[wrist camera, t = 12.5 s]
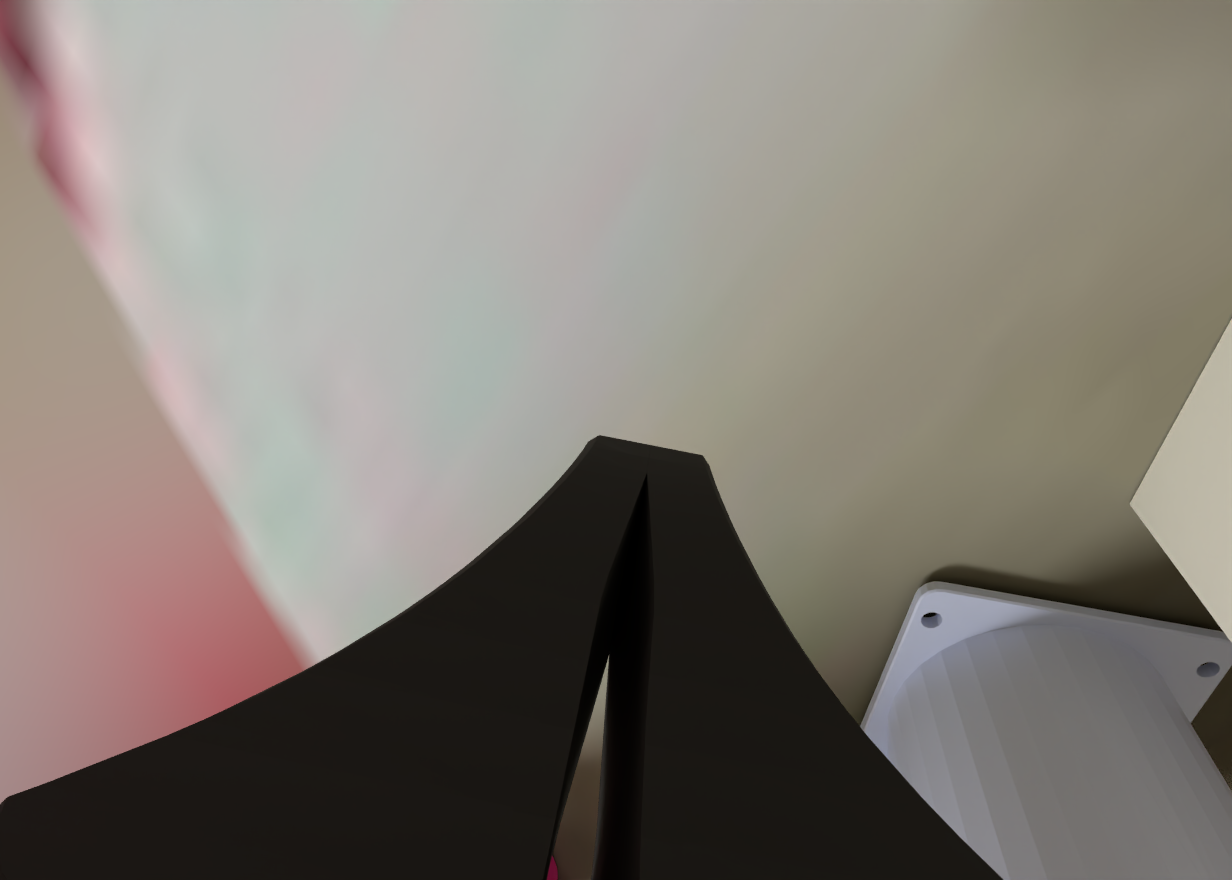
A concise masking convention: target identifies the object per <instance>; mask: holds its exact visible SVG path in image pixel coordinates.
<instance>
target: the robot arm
mask: <svg viewBox="0 0 1232 880" xmlns="http://www.w3.org/2000/svg"><path fill="white" fill-rule="evenodd" d="M930 612H935V613H937V614H936V615H935V616H933V617H923V616H924V615H925V614H927V613H930ZM608 656H609V666H608V679H607V693H606V707H605V721H604V735H603V749H602V763H601V777H600V792H599V806H598V820H597V833H596V842H595V851H594V860H593V869H592V876H591V880H1232V791H1231V790H1230V788H1229V786H1228V785H1227V783H1226V781H1225V780H1224V778H1223V776H1222V775H1221V773H1220V771H1219V770H1218V768H1217V766H1216V765H1215V763H1214V762H1213V760H1212V758H1211V757H1210V755H1209V753H1208V752H1207V750H1206V748H1205V747H1204V745H1203V743H1202V742H1201V740H1200V738H1199V737H1198V735H1197V733H1196V732H1195V730H1194V728H1193V727H1192V725H1191V722H1192V720H1193V719H1194V718H1195V716H1196V715H1197V713H1198V712H1199V711H1200V709H1201V708H1202V706H1203V705H1204V704H1205V702H1206V701H1207V699H1208V698H1209V697H1210V695H1211V694H1212V692H1213V691H1214V690H1215V688H1216V687H1217V685H1218V684H1219V683H1220V681H1221V680H1222V678H1223V677H1224V676H1225V674H1226V673H1227V672H1228V670H1229V669H1230V667H1231V666H1232V642H1231V641H1230V640H1229V639H1228V637H1227V636H1226V634H1225V633H1224V632H1222V631H1216V630H1211V629H1205V628H1200V627H1194V626H1188V625H1183V624H1177V623H1172V622H1166V621H1160V620H1155V619H1149V618H1143V617H1138V616H1132V615H1127V614H1121V613H1115V612H1110V611H1104V610H1098V609H1093V608H1087V607H1082V606H1076V605H1070V604H1065V603H1059V602H1053V601H1048V600H1042V599H1037V598H1031V597H1025V596H1020V595H1014V594H1008V593H1003V592H997V591H992V590H986V589H980V588H975V587H969V586H963V585H958V584H952V583H947V582H938V581H933V582H929V583H926V584H924V585H923V586H921V587H920V588H919V589H918V590H917V592H916V593H915V596H914V598H913V600H912V603H911V605H910V608H909V610H908V613H907V615H906V617H905V620H904V622H903V625H902V627H901V629H900V632H899V634H898V637H897V639H896V641H895V644H894V646H893V649H892V651H891V653H890V656H889V658H888V661H887V663H886V665H885V668H884V670H883V673H882V675H881V677H880V680H879V682H878V685H877V687H876V689H875V692H874V694H873V697H872V699H871V701H870V704H869V706H868V709H867V711H866V713H865V716H864V718H863V721H862V723H861V725H860V726H859V725H858V724H857V722H856V721H855V720H854V719H853V718H852V716H851V715H850V714H849V713H848V711H847V710H846V709H845V708H844V706H843V705H842V704H841V702H840V701H839V700H838V698H837V697H836V696H835V694H834V693H833V692H832V690H831V689H830V688H829V686H828V685H827V684H826V682H825V681H824V680H823V678H822V677H821V675H820V674H819V673H818V671H817V670H816V668H815V667H814V665H813V664H812V663H811V661H810V660H809V658H808V657H807V655H806V654H805V652H804V651H803V649H802V648H801V646H800V645H799V643H798V642H797V640H796V639H795V637H794V635H793V634H792V632H791V631H790V629H789V627H788V626H787V624H786V622H785V621H784V619H783V618H782V616H781V614H780V613H779V611H778V609H777V608H776V606H775V604H774V603H773V601H772V599H771V598H770V596H769V594H768V592H767V591H766V589H765V587H764V585H763V583H762V582H761V580H760V578H759V576H758V574H757V572H756V570H755V568H754V566H753V564H752V563H751V561H750V559H749V557H748V555H747V553H746V551H745V549H744V547H743V545H742V543H741V541H740V539H739V537H738V535H737V533H736V531H735V529H734V527H733V524H732V522H731V520H730V518H729V515H728V513H727V511H726V508H725V506H724V504H723V501H722V499H721V497H720V494H719V492H718V489H717V486H716V484H715V481H714V478H713V475H712V472H711V469H710V466H709V464H708V463H707V461H706V460H705V458H704V457H703V455H698V454H693V453H688V452H683V451H678V450H673V449H667V448H662V447H657V446H652V445H651V446H650V445H647V444H642V443H637V442H632V441H626V440H621V439H616V438H611V437H606V436H601V435H599V436H597V437H595V438H594V439H592V440H590V441H589V442H588V443H587V444H586V446H585V448H584V449H583V451H582V452H581V453H580V455H579V456H578V457H577V459H576V460H575V461H574V462H573V464H572V465H571V466H570V467H569V468H568V470H567V471H566V472H565V473H564V474H563V475H562V476H561V478H560V479H559V480H558V481H557V482H556V483H555V484H554V485H553V487H552V488H551V489H550V490H549V491H548V492H547V493H546V494H545V495H544V496H543V497H542V498H541V499H540V500H539V501H538V502H537V503H536V504H535V505H534V506H533V507H532V508H531V509H530V510H529V511H528V512H527V513H526V514H525V515H524V516H523V517H522V518H521V519H520V520H519V521H518V522H517V523H515V524H514V525H513V526H512V527H511V528H510V529H509V530H508V531H507V532H505V533H504V534H503V535H502V536H501V537H500V538H498V539H497V540H496V541H495V542H494V543H493V544H491V545H490V546H489V547H488V548H487V549H486V550H484V551H483V552H482V553H481V554H480V555H479V556H477V557H476V558H475V559H474V560H473V561H471V562H470V563H469V564H468V565H467V566H465V567H464V568H463V569H461V570H460V571H459V572H458V573H456V574H455V575H454V576H452V577H451V578H450V579H448V580H447V581H446V582H444V583H443V584H442V585H440V586H439V587H438V588H436V589H435V590H434V591H432V592H431V593H429V594H428V595H426V596H425V597H424V598H422V599H421V600H419V601H418V602H416V603H415V604H413V605H412V606H411V607H409V608H408V609H406V610H405V611H403V612H402V613H400V614H399V615H397V616H396V617H394V618H393V619H391V620H389V621H388V622H386V623H384V624H383V625H381V626H380V627H378V628H376V629H375V630H373V631H371V632H370V633H368V634H367V635H365V636H363V637H362V638H360V639H358V640H357V641H355V642H353V643H352V644H350V645H349V646H347V647H345V648H344V649H342V650H340V651H338V652H337V653H335V654H333V655H331V656H330V657H328V658H326V659H324V660H323V661H321V662H319V663H317V664H315V665H314V666H312V667H310V668H308V669H306V670H304V671H303V672H301V673H299V674H297V675H295V676H293V677H291V678H288V679H287V680H285V681H283V682H280V683H278V684H276V685H275V686H272V687H270V688H268V689H266V690H264V691H262V692H260V693H258V694H256V695H254V696H252V697H250V698H248V699H246V700H244V701H242V702H240V703H238V704H236V705H234V706H232V707H230V708H228V709H226V710H224V711H222V712H219V713H217V714H215V715H213V716H211V717H209V718H206V719H204V720H202V721H200V722H197V723H195V724H193V725H190V726H188V727H186V728H183V729H181V730H179V731H176V732H174V733H172V734H170V735H167V736H165V737H162V738H160V739H157V740H155V741H152V742H149V743H147V744H144V745H142V746H139V747H137V748H134V749H132V750H129V751H127V752H124V753H122V754H119V755H117V756H114V757H111V758H109V759H106V760H104V761H101V762H99V763H96V764H93V765H91V766H88V767H86V768H83V769H81V770H78V771H76V772H73V773H71V774H68V775H65V776H63V777H60V778H58V779H55V780H53V781H50V782H48V783H45V784H42V785H40V786H37V787H34V788H31V789H28V790H26V791H23V792H20V793H17V794H15V795H12V796H9V797H7V798H6V799H5V800H4V801H3V802H2V803H1V804H0V880H547V876H548V871H549V866H550V862H551V858H552V854H553V850H554V846H555V842H556V838H557V834H558V830H559V826H560V822H561V818H562V815H563V811H564V808H565V805H566V801H567V798H568V794H569V791H570V787H571V784H572V780H573V777H574V774H575V770H576V767H577V763H578V760H579V756H580V753H581V749H582V746H583V743H584V739H585V736H586V732H587V729H588V725H589V722H590V718H591V715H592V712H593V708H594V705H595V701H596V698H597V694H598V691H599V687H600V684H601V681H602V677H603V674H604V670H605V667H606V663H607V660H608ZM1207 662H1209V663H1207ZM1204 663H1207V664H1205V665H1202V666H1200V665H1201V664H1204Z"/></svg>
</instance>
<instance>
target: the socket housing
mask: <svg viewBox="0 0 1232 880" xmlns="http://www.w3.org/2000/svg"><path fill="white" fill-rule="evenodd" d="M1130 505H1131V507H1132V508H1133V509H1134V511H1135V512H1136V514H1137V515H1138V516H1139V518H1140V519H1141V520H1142V522H1143V523H1144V524H1145V526H1146V527H1147V528H1148V530H1149V531H1150V533H1151V534H1152V535H1153V537H1154V538H1155V539H1156V541H1157V542H1158V543H1159V545H1160V546H1161V547H1162V549H1163V550H1164V552H1165V553H1166V554H1167V556H1168V557H1169V558H1170V560H1171V561H1172V562H1173V564H1174V565H1175V566H1176V568H1177V569H1178V571H1179V572H1180V573H1181V575H1182V576H1183V577H1184V579H1185V580H1186V581H1187V583H1188V584H1189V586H1190V587H1191V588H1192V590H1193V591H1194V592H1195V594H1196V595H1197V596H1198V598H1199V599H1200V600H1201V602H1202V603H1203V605H1204V606H1205V607H1206V609H1207V610H1208V611H1209V613H1210V614H1211V615H1212V617H1213V618H1214V619H1215V621H1216V622H1217V624H1218V625H1219V626H1220V628H1221V629H1222V630H1223V632H1224V633H1225V634H1226V636H1227V637H1228V639H1229V640H1230V641H1231V642H1232V319H1231V321H1230V323H1229V324H1228V326H1227V328H1226V330H1225V332H1224V333H1223V335H1222V337H1221V339H1220V341H1219V343H1218V344H1217V346H1216V348H1215V350H1214V352H1213V353H1212V355H1211V357H1210V359H1209V361H1208V363H1207V364H1206V366H1205V368H1204V370H1203V372H1202V373H1201V375H1200V377H1199V379H1198V381H1197V382H1196V384H1195V386H1194V388H1193V390H1192V392H1191V393H1190V395H1189V397H1188V399H1187V401H1186V402H1185V404H1184V406H1183V408H1182V410H1181V412H1180V413H1179V415H1178V417H1177V419H1176V421H1175V422H1174V424H1173V426H1172V428H1171V430H1170V432H1169V433H1168V435H1167V437H1166V439H1165V441H1164V442H1163V444H1162V446H1161V448H1160V450H1159V451H1158V453H1157V455H1156V457H1155V459H1154V461H1153V462H1152V464H1151V466H1150V468H1149V470H1148V471H1147V473H1146V475H1145V477H1144V479H1143V481H1142V482H1141V484H1140V486H1139V488H1138V490H1137V491H1136V493H1135V495H1134V497H1133V499H1132V500H1131V502H1130Z"/></svg>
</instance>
